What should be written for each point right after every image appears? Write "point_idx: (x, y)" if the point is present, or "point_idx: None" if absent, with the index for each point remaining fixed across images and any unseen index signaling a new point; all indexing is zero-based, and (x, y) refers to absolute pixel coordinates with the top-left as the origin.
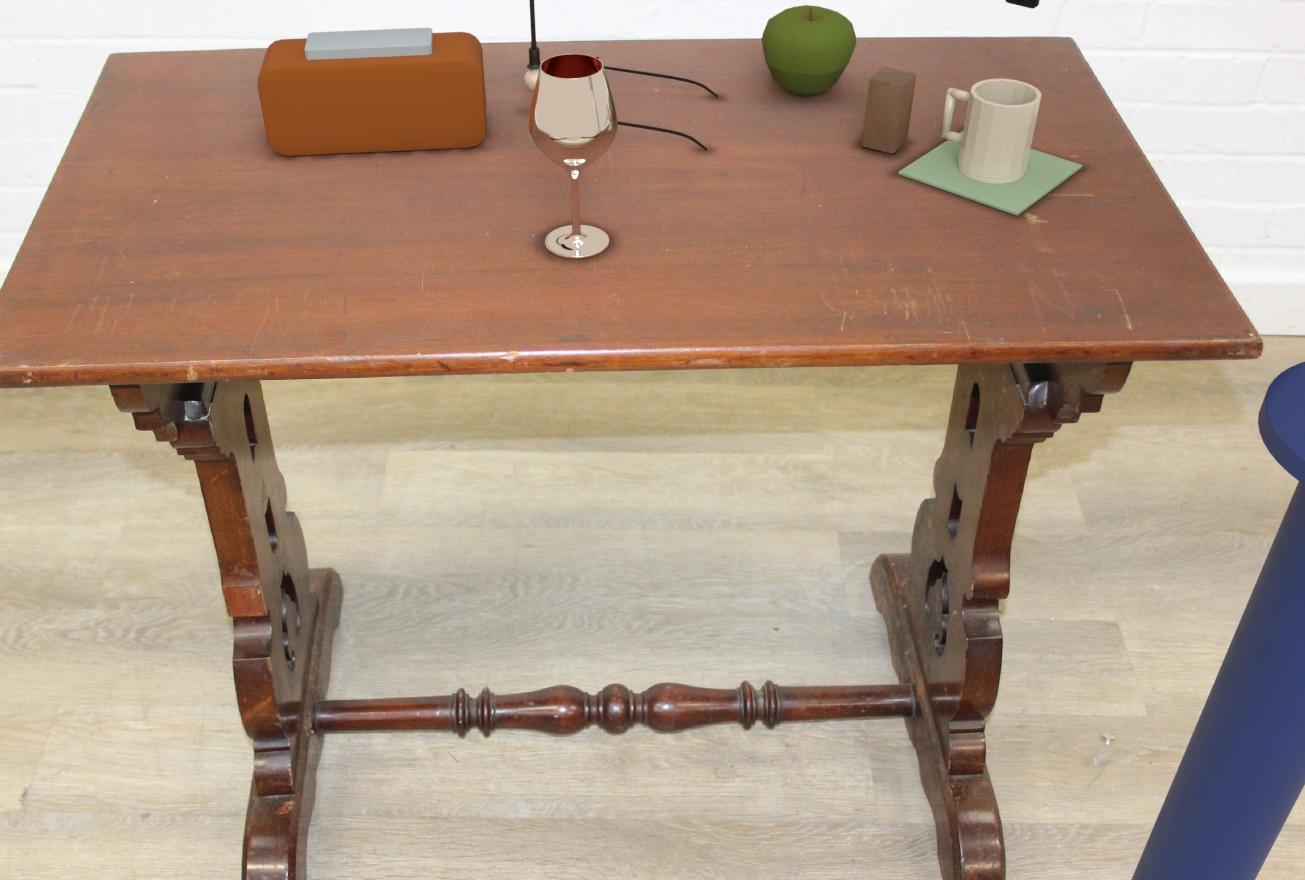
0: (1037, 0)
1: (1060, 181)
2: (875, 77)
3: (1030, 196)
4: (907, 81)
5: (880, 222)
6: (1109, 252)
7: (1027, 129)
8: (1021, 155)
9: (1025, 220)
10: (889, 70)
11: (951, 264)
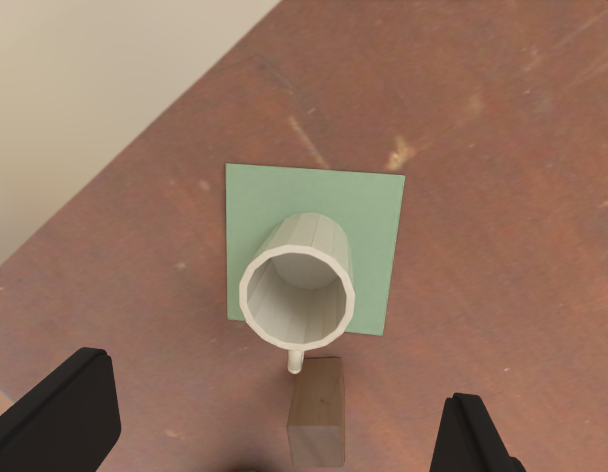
0: (483, 412)
1: (287, 167)
2: (339, 463)
3: (351, 182)
4: (321, 426)
5: (511, 301)
6: (435, 25)
7: (316, 234)
8: (320, 223)
9: (409, 161)
10: (305, 457)
11: (577, 188)
